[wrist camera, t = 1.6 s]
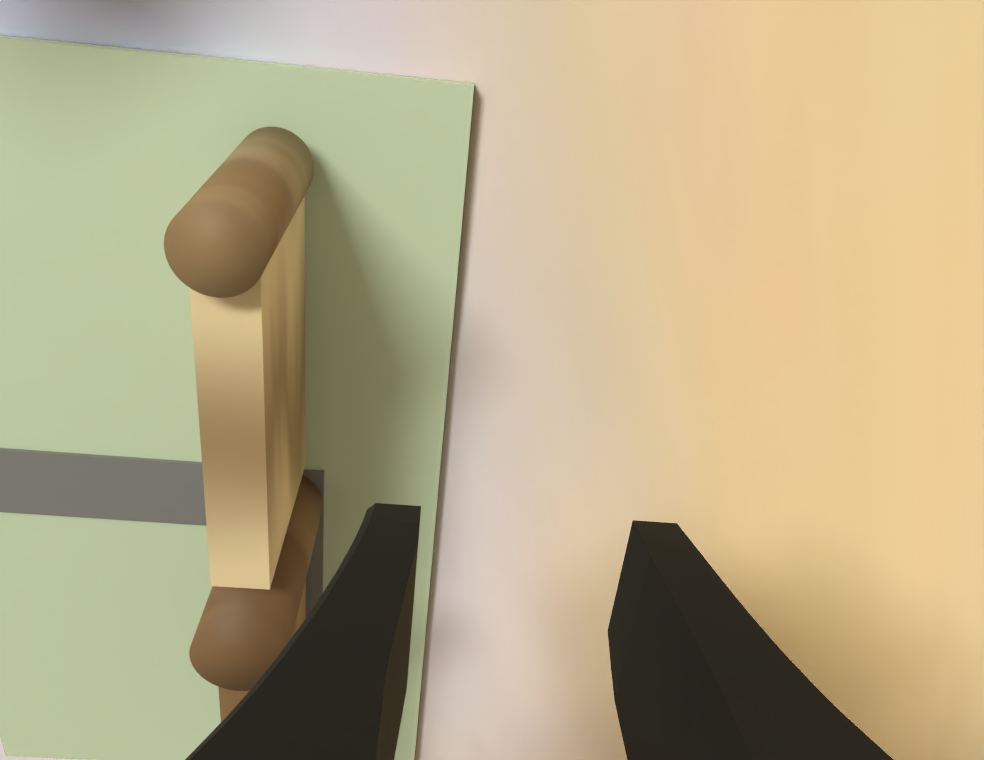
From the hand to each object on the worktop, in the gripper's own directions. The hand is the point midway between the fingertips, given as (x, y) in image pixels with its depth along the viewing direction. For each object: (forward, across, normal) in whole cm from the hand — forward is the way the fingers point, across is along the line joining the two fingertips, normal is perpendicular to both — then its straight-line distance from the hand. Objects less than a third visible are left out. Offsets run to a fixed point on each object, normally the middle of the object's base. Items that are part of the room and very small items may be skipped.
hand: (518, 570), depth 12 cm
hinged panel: (+9, +5, +1) cm, 10 cm away
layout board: (+10, +8, +6) cm, 14 cm away
